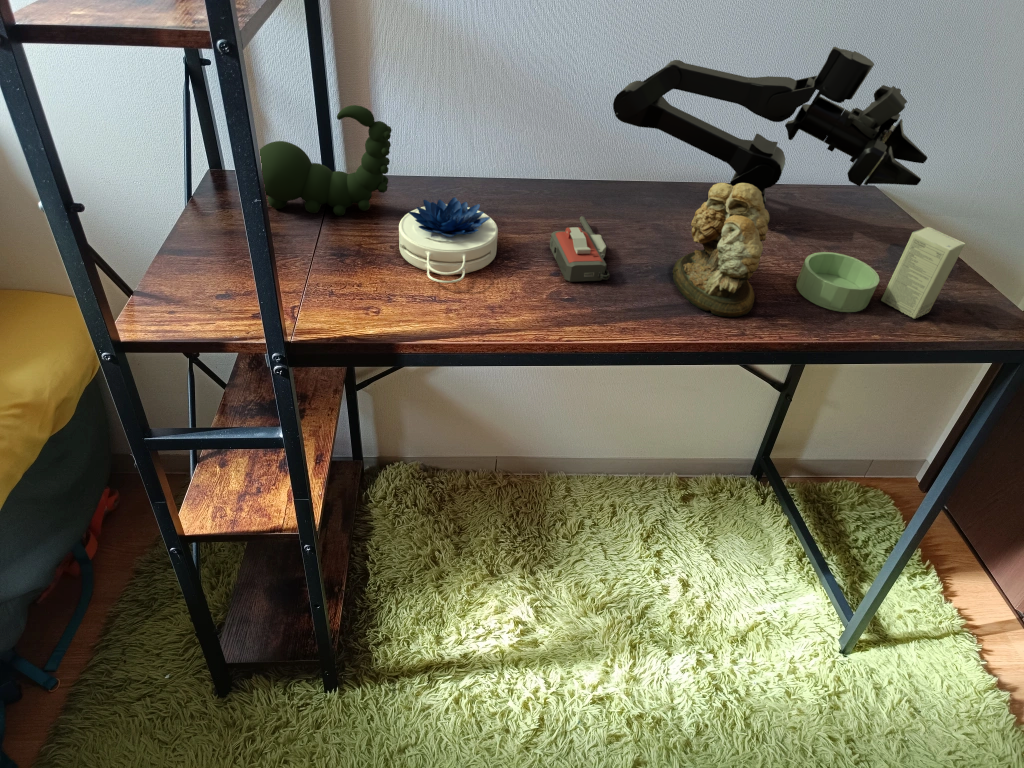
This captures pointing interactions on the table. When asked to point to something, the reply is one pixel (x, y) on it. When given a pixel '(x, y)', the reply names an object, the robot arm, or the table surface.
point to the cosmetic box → (922, 271)
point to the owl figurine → (724, 250)
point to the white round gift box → (448, 238)
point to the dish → (837, 282)
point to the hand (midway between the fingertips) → (922, 171)
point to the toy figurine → (327, 171)
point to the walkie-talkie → (580, 253)
